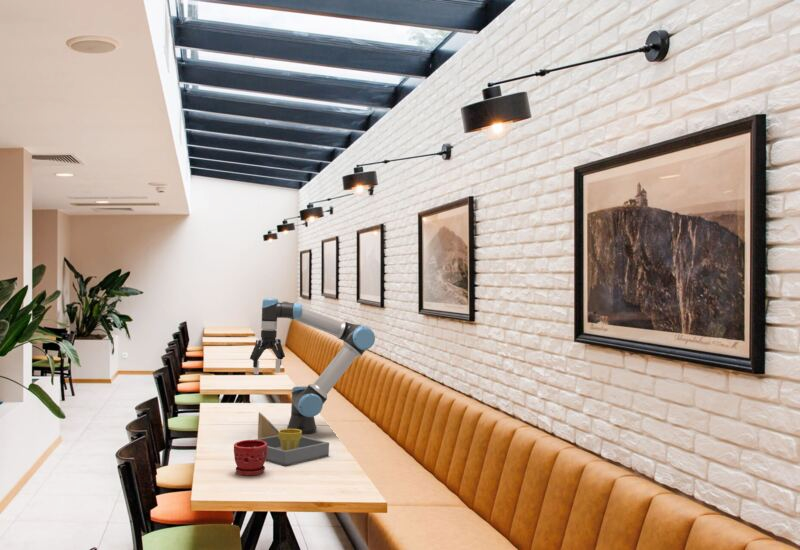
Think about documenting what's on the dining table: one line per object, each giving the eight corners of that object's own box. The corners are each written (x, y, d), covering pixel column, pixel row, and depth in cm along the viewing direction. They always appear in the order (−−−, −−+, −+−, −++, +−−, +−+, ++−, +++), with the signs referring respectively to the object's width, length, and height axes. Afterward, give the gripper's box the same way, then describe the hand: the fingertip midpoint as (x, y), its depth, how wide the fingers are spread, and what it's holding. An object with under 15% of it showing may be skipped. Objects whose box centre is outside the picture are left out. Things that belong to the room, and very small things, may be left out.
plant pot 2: (278, 449, 323) (279, 428, 323) (301, 450, 324) (302, 428, 324) (276, 455, 313) (277, 433, 313) (300, 455, 314) (301, 433, 314)
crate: (288, 445, 336) (289, 433, 336) (328, 456, 319) (329, 442, 320) (244, 454, 316) (245, 441, 316) (284, 466, 299) (285, 451, 299)
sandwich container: (293, 446, 336) (294, 414, 336) (260, 447, 331) (261, 415, 331) (289, 442, 344) (290, 410, 344) (257, 443, 339) (258, 411, 339)
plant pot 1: (237, 467, 294) (238, 438, 294) (269, 469, 294) (270, 440, 294) (228, 476, 281) (230, 445, 281) (262, 478, 281) (263, 447, 281)
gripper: (283, 328, 362) (281, 370, 362) (243, 329, 343) (241, 374, 343) (293, 329, 358) (291, 372, 358) (253, 331, 338) (251, 375, 338)
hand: (267, 373), depth 350 cm, fingers open, 13 cm apart
